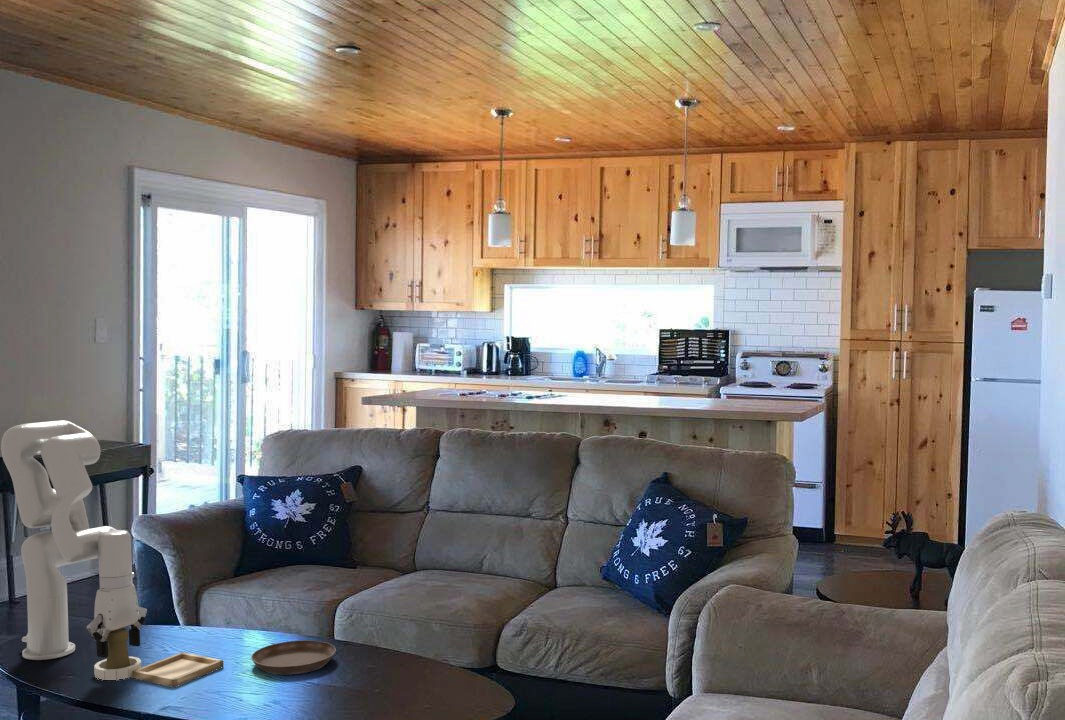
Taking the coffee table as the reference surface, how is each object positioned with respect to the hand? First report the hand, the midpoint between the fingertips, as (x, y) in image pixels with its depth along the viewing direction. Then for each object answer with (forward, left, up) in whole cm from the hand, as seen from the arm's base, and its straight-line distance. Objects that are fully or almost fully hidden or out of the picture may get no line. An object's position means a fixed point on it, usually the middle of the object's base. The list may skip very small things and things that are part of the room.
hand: (119, 651), depth 265 cm
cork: (-1, 0, -6) cm, 6 cm away
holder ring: (-1, 0, -6) cm, 6 cm away
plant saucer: (+33, +25, -6) cm, 42 cm away
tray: (+12, +7, -6) cm, 15 cm away
